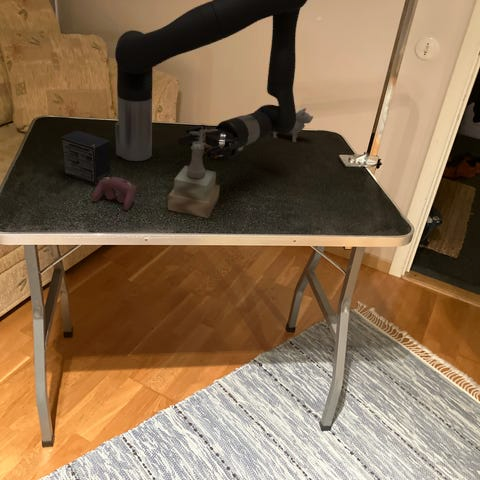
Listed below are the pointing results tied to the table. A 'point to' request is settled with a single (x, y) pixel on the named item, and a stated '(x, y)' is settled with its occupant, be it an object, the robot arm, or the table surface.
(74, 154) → the small box
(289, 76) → the robot arm
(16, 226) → the table surface
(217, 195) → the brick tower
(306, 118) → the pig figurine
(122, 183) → the video game controller
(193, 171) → the rook chess piece
